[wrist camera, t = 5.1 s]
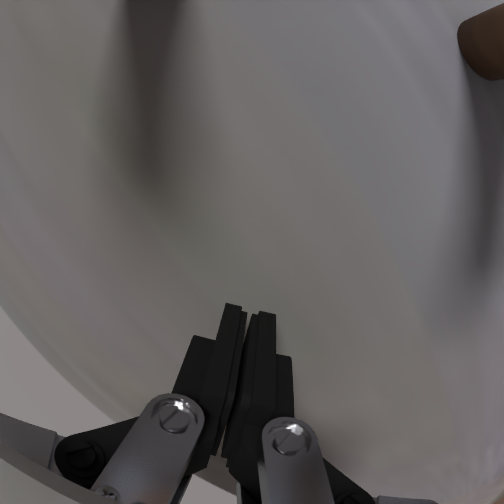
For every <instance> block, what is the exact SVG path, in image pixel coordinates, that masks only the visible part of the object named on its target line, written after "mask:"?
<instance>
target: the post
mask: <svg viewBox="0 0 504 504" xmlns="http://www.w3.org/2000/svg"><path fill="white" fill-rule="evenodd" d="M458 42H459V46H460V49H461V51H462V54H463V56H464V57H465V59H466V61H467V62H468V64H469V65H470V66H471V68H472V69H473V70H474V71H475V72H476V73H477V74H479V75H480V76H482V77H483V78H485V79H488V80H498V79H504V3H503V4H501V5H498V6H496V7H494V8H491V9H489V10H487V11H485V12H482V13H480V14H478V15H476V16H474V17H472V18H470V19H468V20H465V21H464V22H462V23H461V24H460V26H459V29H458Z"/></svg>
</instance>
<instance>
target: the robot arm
mask: <svg viewBox="0 0 504 504" xmlns="http://www.w3.org/2000/svg"><path fill="white" fill-rule="evenodd" d="M241 310H242V307H241V306H237V305H233V304H229V303H226V305H225V308H224V312H223V315H222V319H221V322H220V326H219V330H218V333H217V337H216V340H212V339H208V338H204V337H200V336H196V335H194V336H193V338H192V340H191V343H190V345H189V348H188V350H187V353H186V356H185V358H184V361H183V364H182V366H181V369H180V372H179V374H178V377H177V380H176V382H175V385H174V388H173V391H172V393H167V394H162V395H159V396H157V397H155V398H153V399H152V400H151V401H150V402H149V403H148V404H147V406H146V407H145V409H144V410H143V412H142V413H141V414H140V416H139V417H135V418H132V419H129V420H126V421H122V422H119V423H115V424H112V425H108V426H105V427H102V428H98V429H94V430H90V431H86V432H82V433H78V434H74V435H71V436H68V437H63V436H60V435H57V433H56V432H55V431H52V430H48V429H45V428H42V427H39V426H35V425H32V424H29V423H26V422H23V421H21V420H18V419H15V418H12V417H10V416H7V415H5V414H2V413H0V504H180V502H181V499H182V497H183V495H184V493H185V491H186V488H187V486H188V484H189V482H190V479H191V477H192V474H194V473H196V472H198V471H200V470H202V469H204V468H206V467H207V464H208V461H209V458H210V455H213V456H216V453H217V450H218V447H219V444H220V441H221V438H222V435H223V432H224V429H225V426H226V429H225V435H224V441H223V447H222V453H221V457H223V458H227V464H226V467H228V468H229V473H230V474H231V475H232V476H233V477H234V478H235V479H236V480H237V482H236V492H237V504H438V503H437V502H435V501H433V500H429V499H410V498H398V497H389V496H378V497H377V498H375V497H371V496H370V495H369V494H368V493H367V492H366V491H365V490H363V489H362V488H361V487H359V486H358V485H357V484H355V483H354V482H353V481H351V480H350V479H349V478H348V477H346V476H345V475H344V474H343V473H341V472H340V471H339V470H337V469H336V468H335V467H334V466H332V465H331V464H330V463H329V462H328V461H326V460H325V459H324V458H323V457H322V454H321V450H320V446H319V443H318V439H317V436H316V434H315V432H314V431H313V430H312V428H311V427H310V426H309V425H307V424H306V423H304V422H303V421H301V420H298V419H296V418H294V396H293V375H292V360H291V357H290V356H284V355H279V354H276V314H272V313H267V312H263V311H259V313H258V315H257V314H252V316H251V319H250V323H249V327H248V330H247V334H246V337H245V341H244V344H243V339H244V332H245V325H246V319H247V312H244V311H241ZM242 345H243V348H242Z"/></svg>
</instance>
